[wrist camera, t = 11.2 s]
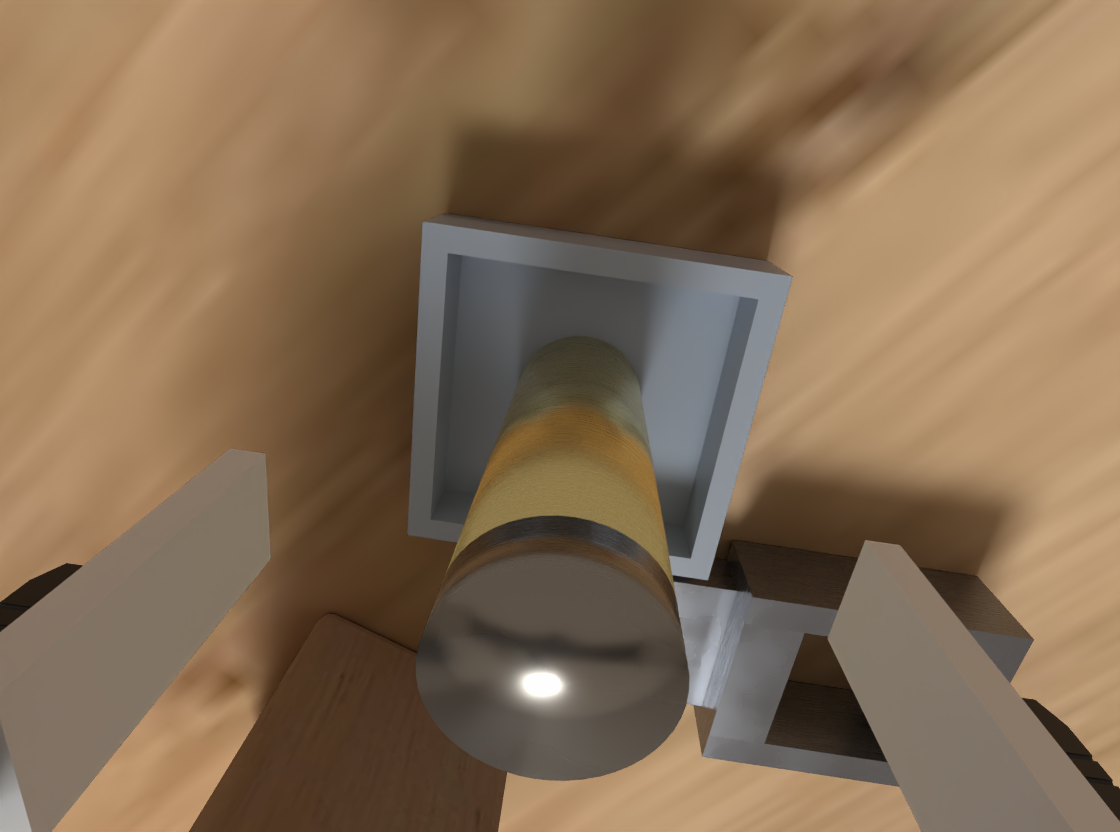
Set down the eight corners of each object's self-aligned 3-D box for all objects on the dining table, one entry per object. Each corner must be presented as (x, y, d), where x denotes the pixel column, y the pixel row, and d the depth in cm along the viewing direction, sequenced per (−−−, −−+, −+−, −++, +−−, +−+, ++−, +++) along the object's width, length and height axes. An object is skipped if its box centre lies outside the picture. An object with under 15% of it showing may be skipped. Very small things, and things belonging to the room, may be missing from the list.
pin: (511, 441, 23) (408, 758, 11) (525, 326, 22) (424, 546, 9) (628, 459, 23) (659, 798, 11) (651, 346, 22) (718, 593, 9)
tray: (428, 494, 25) (407, 535, 23) (446, 213, 21) (422, 221, 18) (696, 534, 25) (707, 580, 23) (767, 260, 21) (792, 276, 18)
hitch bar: (516, 660, 29) (505, 726, 25) (537, 510, 25) (528, 563, 22) (908, 719, 28) (948, 793, 25) (977, 576, 25) (1033, 639, 22)
